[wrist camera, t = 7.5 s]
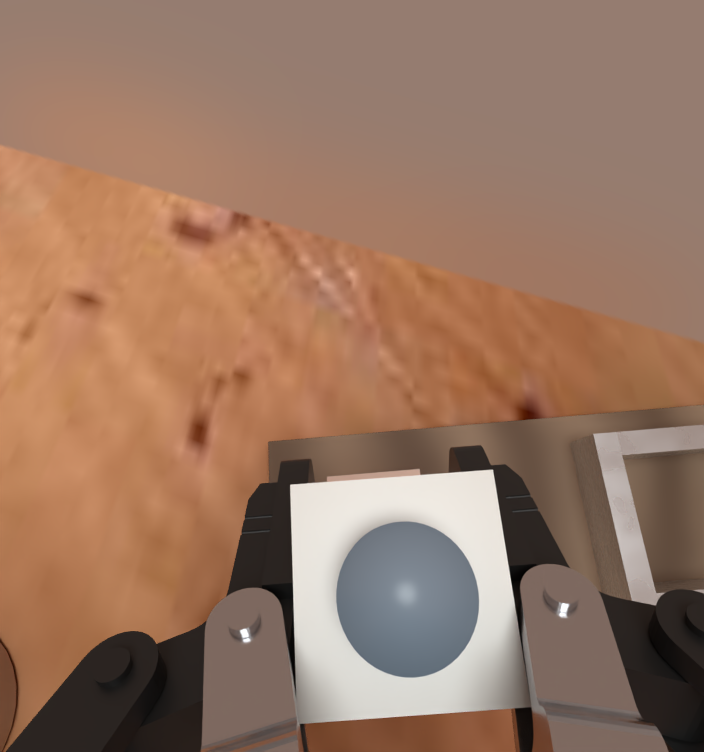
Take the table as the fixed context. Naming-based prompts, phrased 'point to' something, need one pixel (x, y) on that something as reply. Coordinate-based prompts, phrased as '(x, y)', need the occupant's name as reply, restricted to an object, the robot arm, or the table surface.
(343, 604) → the plug
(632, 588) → the frame
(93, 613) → the table surface
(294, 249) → the table surface
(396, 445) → the panel
